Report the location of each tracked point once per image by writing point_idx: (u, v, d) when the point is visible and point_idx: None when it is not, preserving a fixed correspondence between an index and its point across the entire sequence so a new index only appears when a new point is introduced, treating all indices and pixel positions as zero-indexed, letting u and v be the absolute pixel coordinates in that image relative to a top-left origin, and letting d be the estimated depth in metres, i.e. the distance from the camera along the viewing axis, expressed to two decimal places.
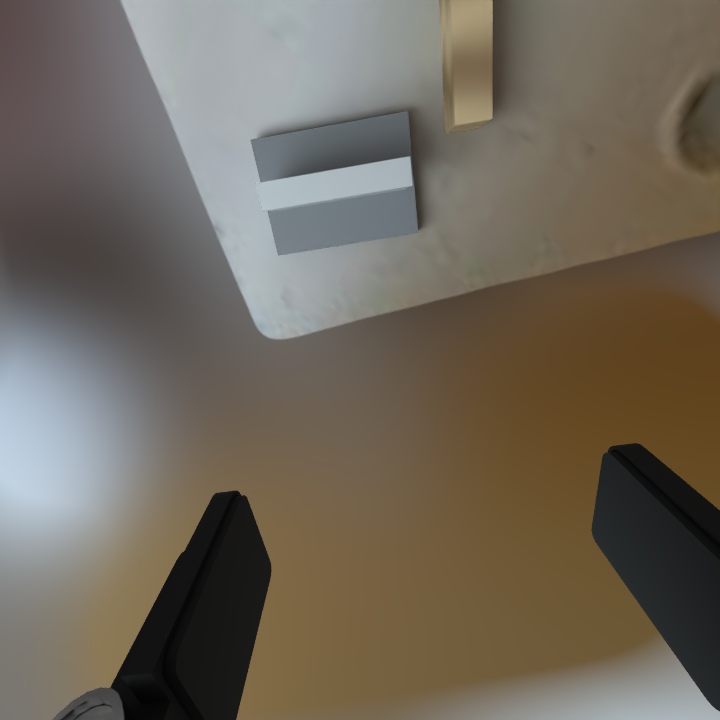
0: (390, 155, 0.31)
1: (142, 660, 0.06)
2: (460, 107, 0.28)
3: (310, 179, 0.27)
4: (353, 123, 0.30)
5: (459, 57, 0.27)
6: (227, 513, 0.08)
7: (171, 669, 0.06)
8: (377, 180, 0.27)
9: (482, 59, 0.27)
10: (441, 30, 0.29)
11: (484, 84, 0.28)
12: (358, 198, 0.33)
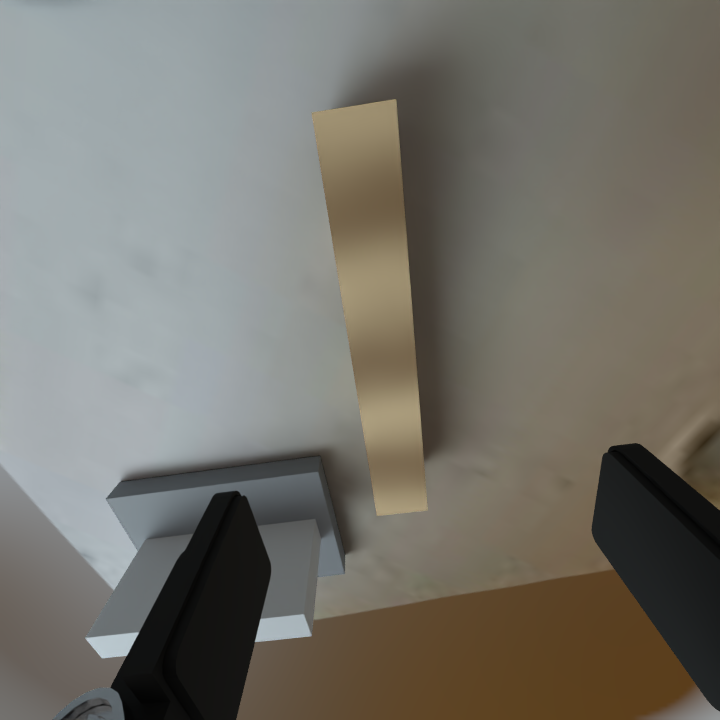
0: (298, 510, 0.23)
1: (142, 660, 0.06)
2: (382, 500, 0.20)
3: None
4: (244, 483, 0.22)
5: (376, 456, 0.19)
6: (227, 513, 0.08)
7: (171, 669, 0.06)
8: (261, 632, 0.19)
9: (409, 458, 0.19)
10: None
11: (414, 480, 0.20)
12: None
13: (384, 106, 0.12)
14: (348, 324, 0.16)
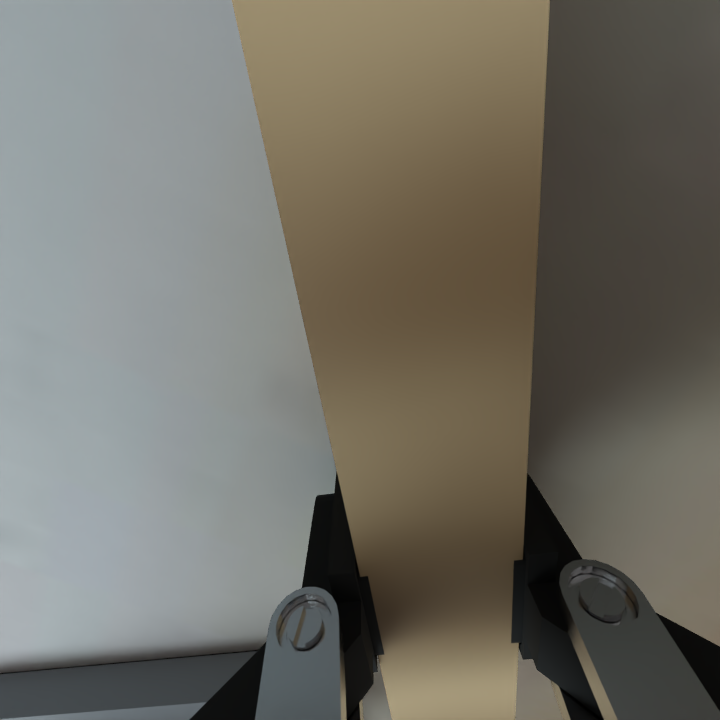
0: None
1: (340, 564, 0.06)
2: None
3: None
4: (175, 707, 0.13)
5: None
6: None
7: None
8: None
9: None
10: None
11: None
12: None
13: None
14: (360, 547, 0.06)
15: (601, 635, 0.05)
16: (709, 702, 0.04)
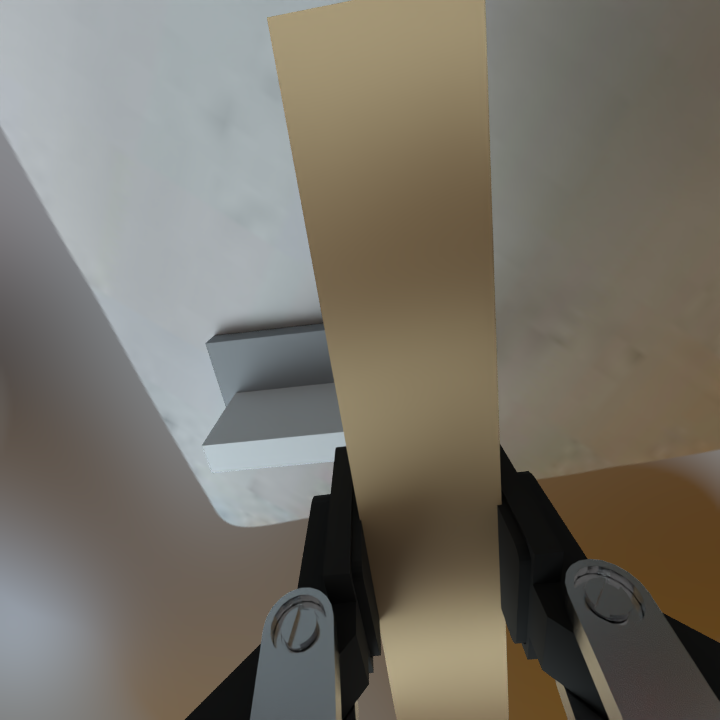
0: None
1: (336, 565, 0.06)
2: None
3: (276, 444, 0.20)
4: None
5: None
6: None
7: (356, 574, 0.07)
8: None
9: None
10: None
11: None
12: None
13: None
14: (359, 490, 0.07)
15: (607, 635, 0.05)
16: (718, 703, 0.04)
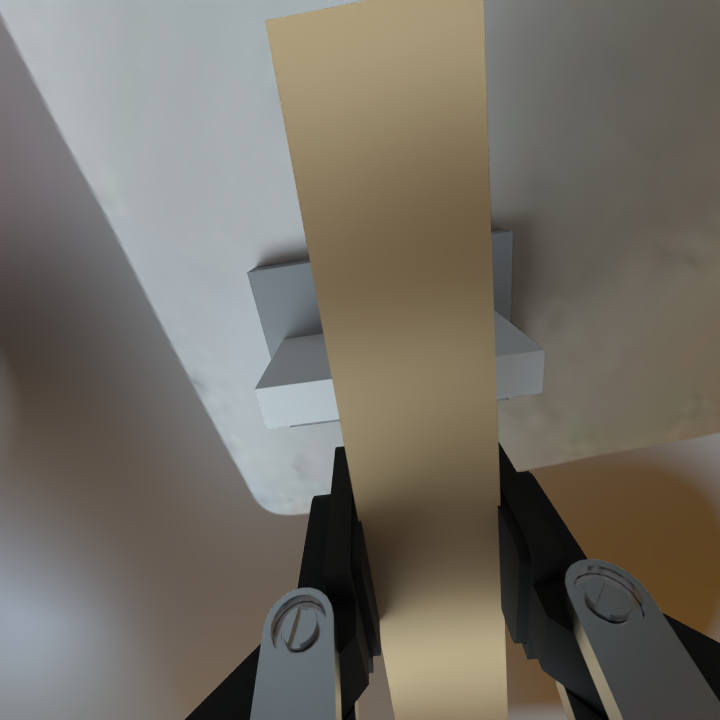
0: None
1: (336, 565, 0.06)
2: None
3: None
4: None
5: None
6: None
7: (356, 574, 0.07)
8: None
9: None
10: None
11: None
12: None
13: None
14: (358, 492, 0.07)
15: (607, 635, 0.05)
16: (717, 702, 0.04)
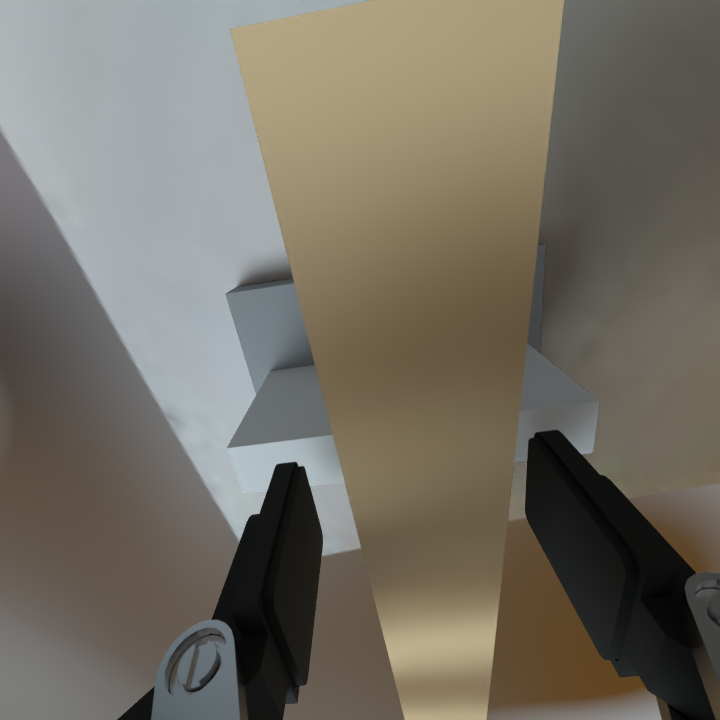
0: None
1: (245, 596, 0.06)
2: (415, 715, 0.13)
3: None
4: None
5: (410, 681, 0.11)
6: (291, 480, 0.09)
7: (268, 605, 0.06)
8: None
9: (466, 681, 0.11)
10: None
11: (470, 699, 0.12)
12: None
13: None
14: (365, 540, 0.07)
15: None
16: None
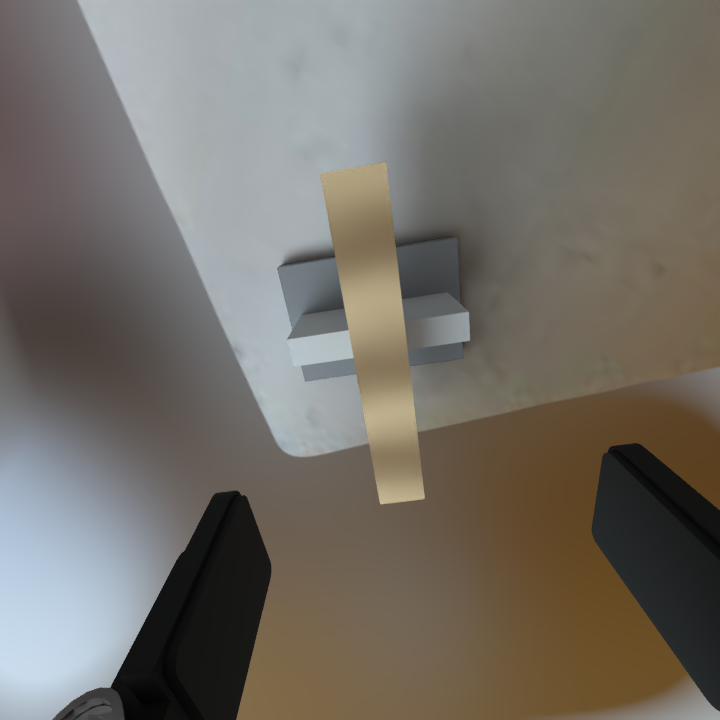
0: (435, 282, 0.28)
1: (141, 660, 0.05)
2: (384, 489, 0.23)
3: None
4: None
5: (378, 450, 0.22)
6: (227, 513, 0.08)
7: (170, 669, 0.06)
8: (429, 335, 0.23)
9: (406, 452, 0.22)
10: None
11: (411, 472, 0.23)
12: None
13: (376, 167, 0.16)
14: (352, 337, 0.19)
15: None
16: None
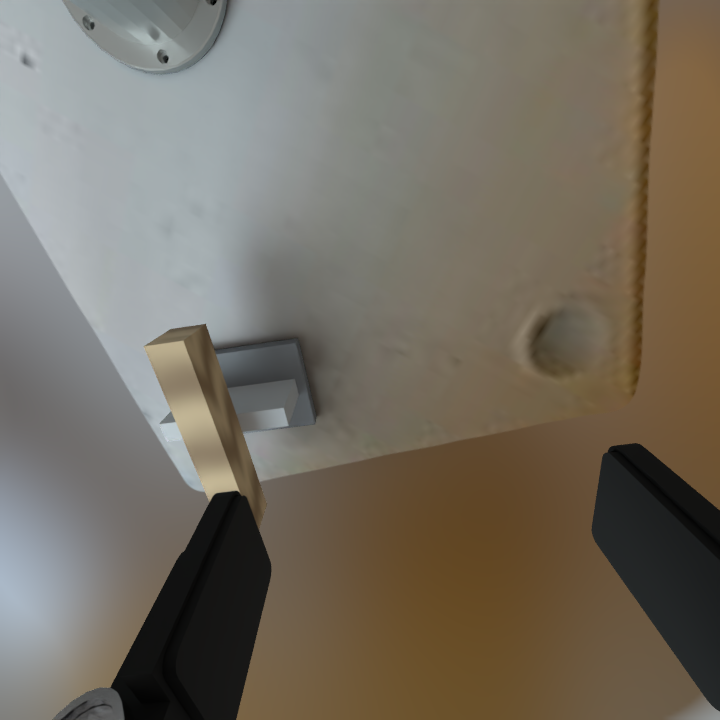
0: (284, 372, 0.37)
1: (142, 660, 0.06)
2: None
3: None
4: (250, 351, 0.36)
5: None
6: (227, 513, 0.08)
7: (171, 669, 0.06)
8: (259, 422, 0.33)
9: None
10: None
11: None
12: None
13: (178, 343, 0.25)
14: (183, 436, 0.29)
15: None
16: None
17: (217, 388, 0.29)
